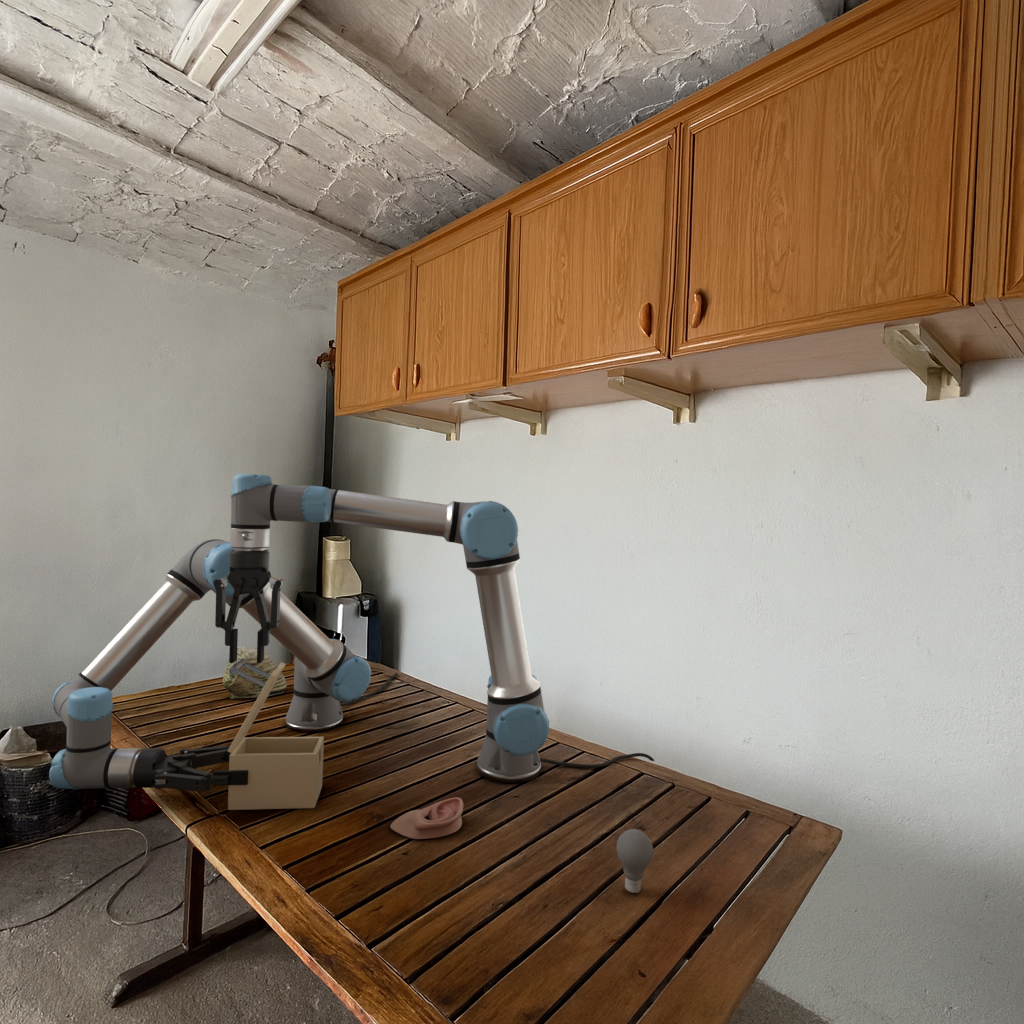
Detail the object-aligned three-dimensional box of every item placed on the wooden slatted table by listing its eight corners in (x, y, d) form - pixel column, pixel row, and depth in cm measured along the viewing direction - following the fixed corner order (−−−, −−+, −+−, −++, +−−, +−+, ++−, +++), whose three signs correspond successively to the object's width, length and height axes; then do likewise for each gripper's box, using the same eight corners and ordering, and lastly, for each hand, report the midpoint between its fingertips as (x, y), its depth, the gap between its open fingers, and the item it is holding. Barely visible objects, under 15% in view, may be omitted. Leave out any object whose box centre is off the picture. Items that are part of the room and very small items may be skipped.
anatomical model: (384, 813, 120) (406, 787, 131) (383, 834, 120) (405, 806, 131) (452, 824, 117) (468, 796, 128) (451, 845, 117) (467, 815, 128)
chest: (322, 786, 138) (324, 736, 138) (314, 808, 129) (316, 754, 129) (241, 788, 136) (243, 737, 136) (227, 810, 127) (229, 755, 126)
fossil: (218, 695, 195) (220, 647, 195) (278, 685, 208) (279, 640, 207) (228, 703, 189) (230, 653, 188) (289, 692, 201) (290, 645, 201)
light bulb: (610, 879, 108) (613, 822, 108) (644, 879, 109) (647, 822, 109) (619, 902, 102) (622, 840, 102) (655, 901, 103) (658, 840, 103)
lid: (285, 664, 137) (248, 645, 135) (275, 676, 127) (234, 656, 126) (245, 735, 136) (207, 717, 135) (231, 753, 126) (190, 734, 125)
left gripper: (161, 763, 140) (267, 762, 143) (111, 813, 118) (238, 810, 121) (162, 729, 140) (268, 729, 143) (113, 773, 118) (239, 771, 121)
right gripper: (197, 549, 126) (194, 666, 126) (290, 551, 128) (287, 666, 128) (210, 546, 133) (207, 656, 133) (298, 548, 135) (294, 656, 136)
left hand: (254, 766), depth 132 cm, fingers closed on chest, 9 cm apart
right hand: (246, 661), depth 131 cm, fingers open, 5 cm apart
